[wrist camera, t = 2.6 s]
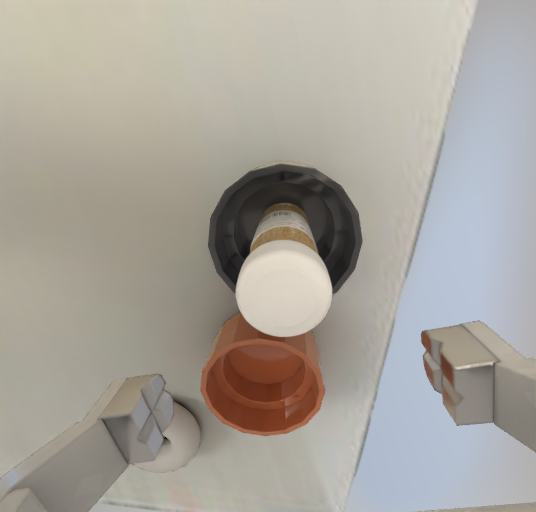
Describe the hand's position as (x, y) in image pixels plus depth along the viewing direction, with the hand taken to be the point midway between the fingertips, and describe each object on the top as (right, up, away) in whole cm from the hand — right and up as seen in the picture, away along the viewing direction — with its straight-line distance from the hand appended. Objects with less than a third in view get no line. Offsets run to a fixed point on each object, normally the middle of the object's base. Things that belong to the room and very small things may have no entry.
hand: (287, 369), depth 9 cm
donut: (-13, -17, +27) cm, 34 cm away
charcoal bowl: (+1, +6, +17) cm, 18 cm away
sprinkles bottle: (+1, +6, +17) cm, 18 cm away
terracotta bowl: (-1, -7, +22) cm, 23 cm away
